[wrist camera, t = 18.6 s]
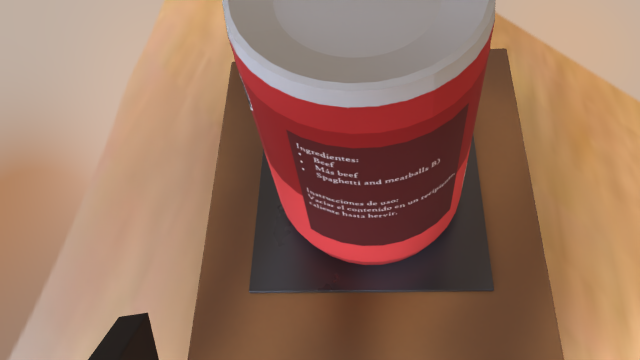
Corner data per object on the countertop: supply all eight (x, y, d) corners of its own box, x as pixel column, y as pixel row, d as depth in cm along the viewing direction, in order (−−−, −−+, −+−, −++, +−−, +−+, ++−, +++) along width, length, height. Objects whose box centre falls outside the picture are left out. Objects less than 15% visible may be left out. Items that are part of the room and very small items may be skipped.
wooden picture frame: (208, 394, 25) (182, 372, 22) (245, 103, 34) (230, 58, 31) (546, 398, 24) (569, 375, 21) (496, 93, 32) (507, 44, 29)
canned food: (364, 90, 29) (351, -131, 19) (499, 186, 25) (561, -28, 16) (243, 189, 26) (163, -9, 17) (373, 310, 23) (361, 144, 14)
